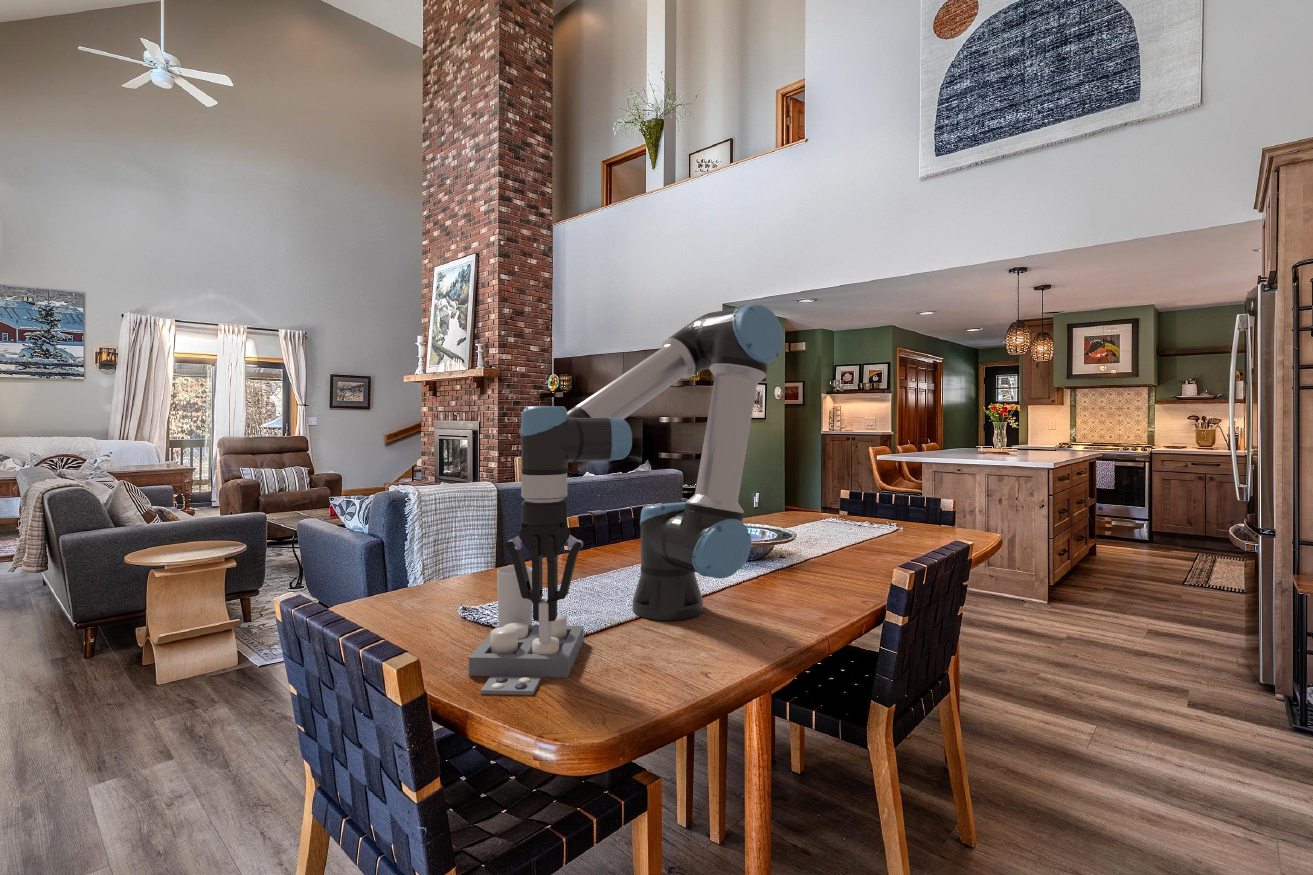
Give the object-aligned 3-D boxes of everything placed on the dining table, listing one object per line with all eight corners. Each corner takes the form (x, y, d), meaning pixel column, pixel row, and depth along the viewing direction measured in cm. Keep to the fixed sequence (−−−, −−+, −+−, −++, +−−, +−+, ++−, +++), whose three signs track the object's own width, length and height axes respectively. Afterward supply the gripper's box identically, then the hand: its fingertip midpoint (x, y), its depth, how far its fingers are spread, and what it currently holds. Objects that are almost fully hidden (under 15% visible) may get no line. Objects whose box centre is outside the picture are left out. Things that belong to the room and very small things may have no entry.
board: (583, 641, 118) (583, 625, 118) (567, 677, 102) (567, 658, 102) (498, 640, 118) (498, 624, 118) (469, 675, 102) (468, 657, 102)
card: (540, 680, 100) (540, 676, 100) (533, 694, 95) (533, 689, 95) (490, 680, 101) (490, 675, 101) (480, 693, 96) (480, 688, 96)
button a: (568, 634, 115) (568, 614, 115) (564, 642, 111) (564, 622, 111) (544, 633, 116) (544, 614, 116) (539, 642, 111) (539, 622, 111)
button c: (561, 657, 109) (561, 636, 108) (556, 667, 104) (556, 645, 104) (535, 657, 109) (535, 636, 109) (529, 667, 104) (529, 645, 104)
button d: (520, 647, 109) (520, 626, 109) (513, 657, 104) (513, 635, 104) (495, 647, 109) (495, 626, 109) (487, 657, 105) (487, 635, 104)
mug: (537, 633, 122) (536, 571, 122) (501, 638, 119) (501, 575, 119) (524, 618, 131) (524, 560, 131) (491, 623, 129) (490, 564, 128)
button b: (530, 642, 116) (530, 622, 116) (524, 651, 111) (524, 630, 111) (506, 641, 116) (506, 622, 116) (499, 650, 112) (499, 630, 112)
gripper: (587, 496, 109) (587, 632, 110) (511, 496, 110) (512, 631, 110) (579, 502, 101) (580, 648, 102) (499, 501, 102) (500, 647, 103)
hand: (545, 639), depth 106 cm, fingers closed
